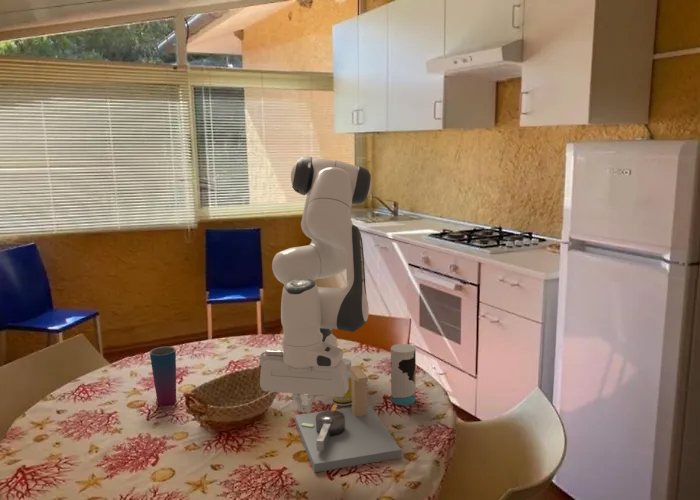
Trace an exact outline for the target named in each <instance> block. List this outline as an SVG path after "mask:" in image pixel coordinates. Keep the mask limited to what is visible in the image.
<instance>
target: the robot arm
mask: <svg viewBox="0 0 700 500" xmlns="http://www.w3.org/2000/svg"><path fill="white" fill-rule="evenodd" d="M290 182H291V188H292V189H293V190H294V192H296V193H297V194H300V195H303V196H306V198H305V203H304V207H303V210H302V211H303V212H302V218H301V222H300V228H301V230H302V233H303V234H304V235H305V237H307V238H309V239H311V241H310V243H309V244H308V245H302V246H294V247H289V248H287V249H284V250H281V251H279V252H277V253H276V254H275V255H274V257H273V259H272V261H271V262H272V264H271V269H272V273H273V275H274V277H275V279H276V280H277V281H279V282H280V283H281V284H283V285H284V286H283V287H282V293H281V298H280V299H281V302H280V322H281V326H282V329H283V334H282V339H281V343H282V344H281V345H282V350H269V349H267V350H265V351H264V352H263V351H262V353H261V354H260V355H259V365H260V367H261V369H260V377H259V379H260V380H259V385H260V388H261V390H262V391H263V392H274V393H288V394H292V395H291V396H292V399H293V401H294V402H295V403H296V405H297V412H303V413H305V412H306V413H312V411H313V402H314V401H315V399H316V397H317V396H324V397H325V396H326V397H332V396H333V397H343V396H344V395H345V394H346V393H347V391H348V389H349V379H348V372H347V367H346V364H345V363H344V362H343V361H342V360H341V359H344V358H343V356H344V350H343V349H342V348H340V347H338V339H337V337H336V336H335V335H333V330H338V331H343V332H349V333H355V332H356V331H358V330H360V329H361V328H362V327H363V326H364V325H365V324H366V323H367V322H368V319H369V313H370V312H369V302H368V297H367V286H366V272H365V271H366V269H365V254H364V245H363V237H362V234H361V232H360V229H359V227H358V226H357V225H355V224H353V220H352V206H353V205H361V204H363V203H364V202H366V201H367V198H368V197H369V195H370V194H371V191H372V186H373V185H372V184H373V182H372V175H371V172H370V171H369V169H367V168H365V167H362V166H360V165H354V164H351V163H347V162H344V161H341V160H336V159H334V160H332V159H326V158H325V159H324V158H318V157H317V158H315V157H314V158H313V156H300V158H298V159H297V160H296V162H295V163H294V165H293V167H292V169H291V172H290ZM345 271H346V285H345V286H343V287H327V286H323V287H322V286H318V285H317V282H316V280H320V279H321V280H322V279H327V278H332V277H334V276H336V275H339V274H341V273H343V272H345ZM301 395H307V399H309V401H303V399H302V397H301Z"/></svg>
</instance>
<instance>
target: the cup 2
mask: <svg viewBox="0 0 700 500" xmlns="http://www.w3.org/2000/svg"><path fill="white" fill-rule="evenodd" d="M416 350H417V349H416V346H414V345H412V344H408V343H397V344H393V345H391V347H390V400H391V401H390V402H392V403H393V404H395V405H399V406H410V405H413V404H414V403H415V402H416V389H417V388H416V380H417V379H416V377H417V376H416V370H417V369H416V353H417V352H416Z"/></svg>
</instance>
